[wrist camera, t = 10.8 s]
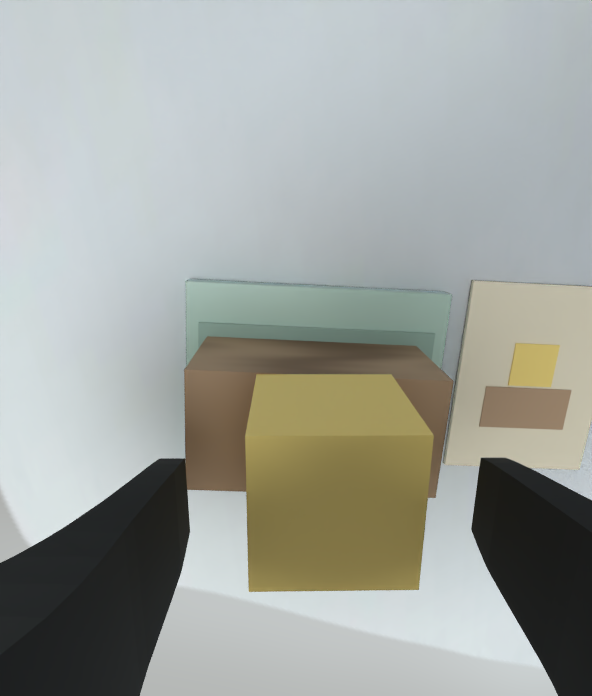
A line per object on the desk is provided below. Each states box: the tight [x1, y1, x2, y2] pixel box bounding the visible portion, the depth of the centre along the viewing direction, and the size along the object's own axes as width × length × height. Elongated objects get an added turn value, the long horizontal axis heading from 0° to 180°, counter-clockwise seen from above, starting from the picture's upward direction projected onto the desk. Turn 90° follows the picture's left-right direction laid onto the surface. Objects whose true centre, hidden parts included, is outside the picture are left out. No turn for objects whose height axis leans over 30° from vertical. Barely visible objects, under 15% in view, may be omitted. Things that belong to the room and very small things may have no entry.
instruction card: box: [443, 280, 592, 470], centre depth 19 cm, size 6×8×1 cm
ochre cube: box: [245, 374, 434, 592], centre depth 12 cm, size 4×4×4 cm
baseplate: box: [185, 279, 452, 369], centre depth 18 cm, size 10×8×1 cm
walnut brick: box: [184, 336, 453, 498], centre depth 16 cm, size 8×4×4 cm, turn 87°
